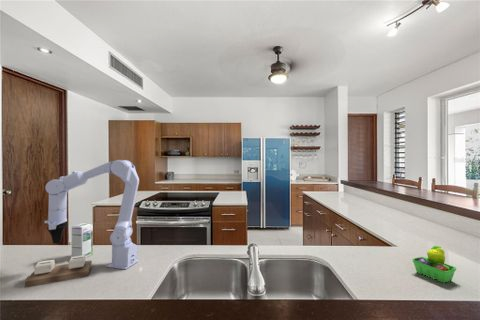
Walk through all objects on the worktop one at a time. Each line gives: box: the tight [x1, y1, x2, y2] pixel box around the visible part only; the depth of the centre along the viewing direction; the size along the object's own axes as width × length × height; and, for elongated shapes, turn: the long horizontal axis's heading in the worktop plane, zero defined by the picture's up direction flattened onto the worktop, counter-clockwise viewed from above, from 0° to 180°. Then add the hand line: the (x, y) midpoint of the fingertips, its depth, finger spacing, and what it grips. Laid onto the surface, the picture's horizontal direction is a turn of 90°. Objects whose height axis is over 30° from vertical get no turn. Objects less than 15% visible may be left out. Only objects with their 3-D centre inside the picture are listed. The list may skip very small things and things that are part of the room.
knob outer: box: [33, 259, 56, 275], centre depth 82 cm, size 5×5×3 cm
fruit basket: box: [411, 245, 457, 284], centre depth 86 cm, size 11×9×11 cm
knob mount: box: [24, 260, 93, 288], centre depth 85 cm, size 18×10×4 cm, turn 117°
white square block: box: [68, 255, 87, 269], centre depth 87 cm, size 5×5×3 cm
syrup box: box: [71, 222, 94, 258], centre depth 102 cm, size 6×6×14 cm
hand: (57, 242), depth 90 cm, fingers closed
